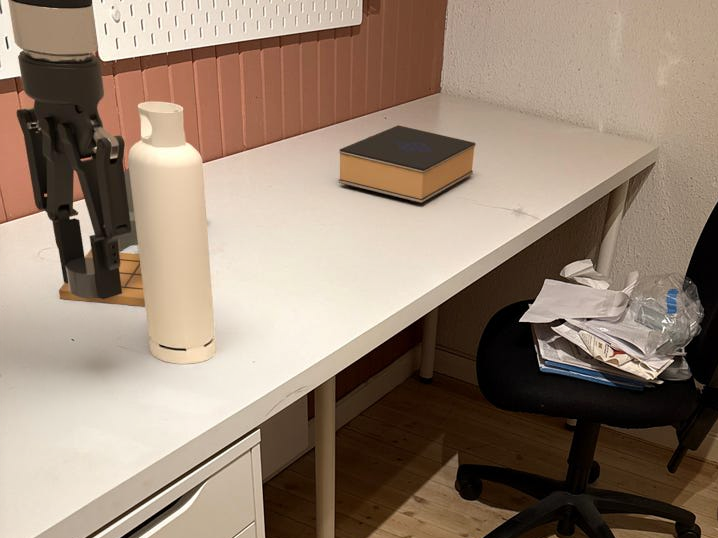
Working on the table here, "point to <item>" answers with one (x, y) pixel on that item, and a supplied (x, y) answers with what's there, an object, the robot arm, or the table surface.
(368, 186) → the book
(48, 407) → the table surface
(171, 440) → the table surface
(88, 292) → the cylinder
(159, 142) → the bottle
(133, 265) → the board
